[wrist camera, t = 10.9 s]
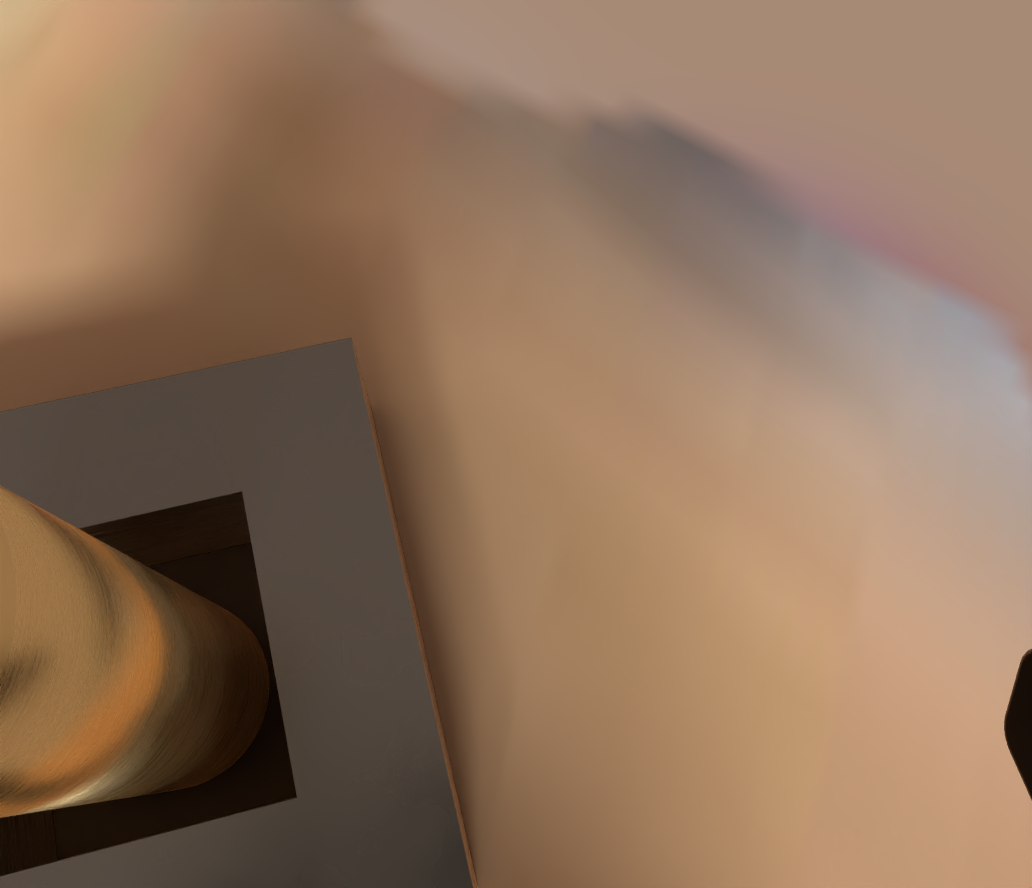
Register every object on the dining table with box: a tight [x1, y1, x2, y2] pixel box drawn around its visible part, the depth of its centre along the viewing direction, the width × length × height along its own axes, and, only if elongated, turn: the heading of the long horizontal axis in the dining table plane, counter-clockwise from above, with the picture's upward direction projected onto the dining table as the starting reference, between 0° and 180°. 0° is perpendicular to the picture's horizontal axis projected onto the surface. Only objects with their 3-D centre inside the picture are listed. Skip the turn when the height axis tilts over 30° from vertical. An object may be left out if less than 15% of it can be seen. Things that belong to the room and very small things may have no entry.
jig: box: [0, 338, 477, 888], centre depth 19 cm, size 11×11×4 cm
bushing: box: [0, 486, 269, 818], centre depth 15 cm, size 4×4×12 cm
